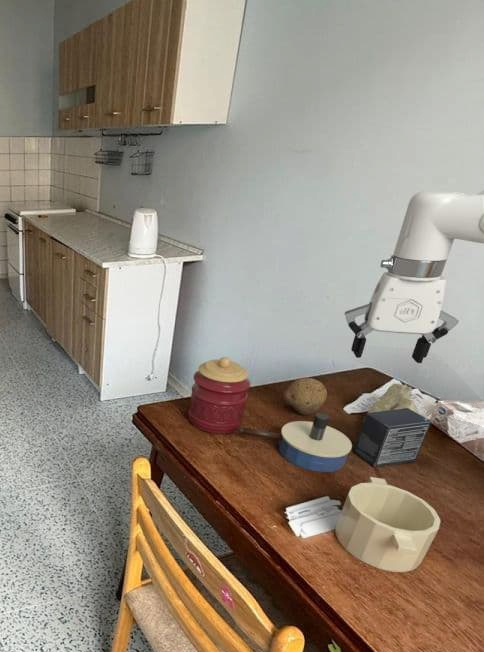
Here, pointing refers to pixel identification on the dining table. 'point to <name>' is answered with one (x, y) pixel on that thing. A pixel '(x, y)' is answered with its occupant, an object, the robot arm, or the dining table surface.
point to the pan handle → (260, 433)
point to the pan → (310, 459)
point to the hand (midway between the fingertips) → (386, 357)
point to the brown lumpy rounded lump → (306, 395)
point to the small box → (391, 437)
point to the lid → (316, 437)
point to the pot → (386, 526)
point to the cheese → (395, 399)
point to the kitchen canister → (218, 396)
